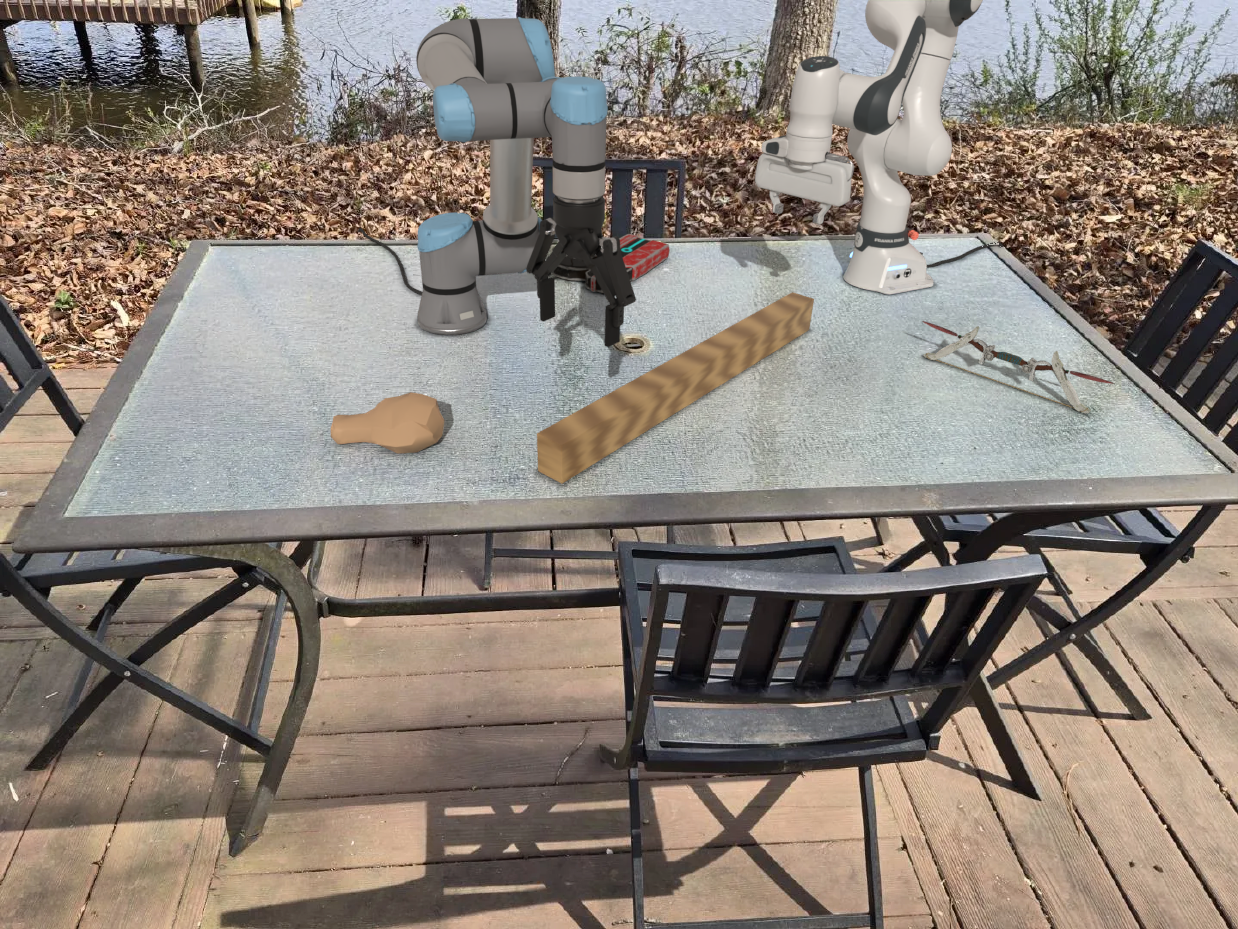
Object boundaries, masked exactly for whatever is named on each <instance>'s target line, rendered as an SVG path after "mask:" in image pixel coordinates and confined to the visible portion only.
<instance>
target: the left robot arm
mask: <svg viewBox="0 0 1238 929" xmlns="http://www.w3.org/2000/svg"><path fill="white" fill-rule="evenodd" d="M415 62H416V69H417V71H418V73H419V76H420V78H421V80H422V81H423V83H424V84H425V86H427V87H428V88H429V89H430V90H431V91H433V93H432V107H433V116H434V124H435V129H436V133H437V136H438V138H439V139H440V140H442V141H444V142H460V143H468V142H477V141H478V142H479V141H480V142H481V141H489V205H487V206H486V207H485V209H484V210H483V213H482V219H481V220H473V218H472V217H471V216H470V215H469V214H468V213H465V212H457V211H456V212H446V213H445V212H444V213H440V214H437V215H434V216H431V217H429V218H427V219H426V220H423V222H421V224H419V226H418V229H417V247H416V248H417V251H418V252H419V253H418V255H419V263H420V275H421V284H422V291H421V290H419V289H416V288H415V287H413V286H411V285H410V284H409V282H408V279H407V276H406V273H405V270H404V267H403V264H402V261H401V260H400V258H399V256H398V255H397V253H396V252H395V251H394V250H393V249H392V248H391V247H389V246H388V245H386V244H385V243H384V242H382V241H380V240H378V239H375V238H374V237H372V236H370V235H369V234H367V232H365V230H364V229H363V228H362V227H359V228H358V230H357V233H361V234H362V235H363V237H365V238H366V239H367V240H369V241H370V242H373V243H375V244H377V245H379V246H381V247H383V248H384V249H385V250H387V251H388V252H389V253H390V254H391V255H392V256H393V257H394V259H395V261H396V263H397V265H398V267H399V271H400V274H401V277H402V281H403V283H404V286H405V287H406V289H408V290H410V291H411V292H413V293H415V294H418V295H420V296H421V297H420V302H419V305H418V310H417V317H416V318H417V325H418V326H419V328H420V329H421V330H423V331H424V332H427V333H430V334H433V335H440V336H459V335H465V334H469V333H473V332H476V331H477V330H480V329H481V328H483V327H484V326H485V325H486V323H487V320H488V316H487V310H486V306H485V304H484V302H483V299H482V298H481V295H480V293H479V291H478V288H477V278H476V277H483V276H484V277H485V276H495V275H497V276H498V275H509V274H510V275H511V274H524V273H527V274H529V275H530V274H532V275H533V276H534V279H535V280H536V295H537V298H538V299H539V321H540V322H542V323H543V322H546V321H548V320H552V319H554V318H556V284H555V283H556V282H555V281H556V279H555V278H554V277H551V276H554V275H553V274H552V273H553V271H554V270H555V269H556V268H557V266H558V265H559V264H560V263H561V262H562V260H563V259H564V258H565V257H566V255H567V257H569V258H575V259H577V260H578V261H581V262H584V263H585V264H586V266H587V267H588V268H590V269H591V270H592V272H593V274H594V276H595V278H596V280H597V282H598V284H599V285H600V287H601V289H602V291H603V293H602V294H604V297H605V298H606V300H607V302H608V304H607V305H605V307H604V346H605V347H606V348H610V347H613V346H614V345H616V344H618V343H620V342H621V326H623V325H624V323H625V321H624V320H625V319H624V318H625V317H624V315H625V307H627V306H630V305H632V304H634V303H635V302H636V301H637V299H636V298H637V297H636V295H635V292H634V288H633V285H632V282H631V281H630V279H629V276H628V273H627V270H626V267H625V264H624V261H623V258H622V255H621V249H620V239H619V238H620V237H619V236H617V235H615V236H612V237H606V236H604V234H603V231H602V230H603V229H602V228H603V225H604V223H605V220H606V199H605V197H604V195H605V194H606V160H607V159H606V158H607V116H608V112H609V105H608V104H607V102H608V101H607V87H606V85H605V83H604V82H603V81H602V80H601V79H598V78H593V77H589V76H564V77H560V76H556V72H555V71H556V70H555V61H554V53H553V48H552V43H551V39H550V36H549V32H548V29H547V27H546V25H545V24H544V23H543V21H542V20H539V19H538V18H526V17H525V18H524V17H520V16H517V17H503V18H500V17H499V18H456V19H452V20H449V21H446V22H445V21H444V22H443V23H441V24H439V25H438V26H436V27H434V28H433V29H432V30H430V31H429V32H428V33H426V35H425V36H424V37H423V38H422V40H421V41H420V43H419V46H418V48H417V51H416V57H415ZM540 138H543V139H544V138H551V146H552V148H551V149H552V150H551V152H552V193H553V194H554V196H553V198H552V212H553V213H552V216H551V217H548V218H545V219H542V218H541V217H539V216H538V214H537V211H536V210H535V209H534V208H533V207H532V200H533V199H532V196H533V195H532V194H533V193H532V192H533V170H534V148H535V147H534V146H535V139H540ZM555 238H557V240H558V242H556V244H555V245H554V246H553V248H552V245H553V242H554V240H555ZM379 241H380V242H379ZM551 248H552V249H551ZM550 250H551V253H550V254H549V252H550ZM548 254H549V255H548ZM595 255H596V256H597V258H595V259H592V258H593V257H594V256H595Z"/></svg>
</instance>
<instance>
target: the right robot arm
mask: <svg viewBox="0 0 1238 929" xmlns="http://www.w3.org/2000/svg"><path fill="white" fill-rule="evenodd" d="M983 1H984V0H867V3H866V5H865V9H864V11H865V12H864V18H865V23H866V26H867V28H868V30H869V33H870V34H871V35H872V36H873V38H874V39H876V41H878V42H879V43H880V44H881V45H884V46H886V47H888V48H890V49H891V50H893V54H892V57H891V59H890V61H889V64H888V65H887V69H886V71H885V73H884V74H881V75H878V76H867V75H862V74H856V73H851V72H845V71H844V70H842V69H841V66H840V62H839V60H838V59H837V58H835V57H832V56H828V55H817V56H810V57H807V58H804V59H803V60H801V61H800V62H799V64H798V67H797V69H796V73H795V75H794V80H793V84H792V88H791V95H790V100H789V117H790V118H789V122H788V125H787V127H786V132H785V135H781V136H777V137H773V138H770V139H768V140H764V141H763V142H762V143H761V152H762V154H760V156H759V157H758V160H757V163H756V168H755V175H754V176H755V177H754V182H755V185H756V186H757V188H760V189H764V190H768V191H769V198H770V200H771V203H772V213H774V214H778V215H780V214H782V213H783V212H784V205H785V204H784V203H782V202H781V200H780V196H779V195H781V194H785V195H788V196H793V197H796V198H801V199H804V200H805V199H806V200H809V201H814V202H816V203H817V202H818V203H820V204H819V208H820V209H821V210H820V211H819V212H816V213H815V214H813V217H812V223H813V224H816V225H821V224H823V223H824V219H825V216H826V214H827V212H829V210H830V209H831V208H832V206H834V207H842V206H843V205H845V204H847V203H848V202H849V201H850V199H851V193H852V178H853V175H854V170H855V165H854V163H853V161H852V160H851V159H850V158H849V157H848V156H846V155H839V154H836V153H832V152H831V146H832V139H833V135H834V134H833V133H834V131H833V130H834V129H833V125H834V126H837V127H842V128H847V129H849V131H848V133H847V138H846V139H847V140H846V142H847V149H848V152H849V154H850V155H851V156H852V158H853V159H854V160H855V162H856V164H857V166H858V169H859V172H860V176H861V180H862V186H863V187H862V188H863V198H862V206H861V213H860V219H859V222H858V223H857V226H856V231H855V235H854V243H853V250H852V252H851V253H850V254H849V258H850V259H849V263H848V265H847V267H846V270H845V272H844V274H843V276H842V278H843V280H844V281H845V282H846V283H847V284H849V285H851V286H853V287H855V288H859V289H862V290H866V291H872V292H878V293H879V294H884V295H895V294H900V293H906V292H911V291H916V290H917V291H918V290H922V289H927V288H932V287H934V279H933V278H932V276H931V275H929V274H928V272H927V269H928V268H934V267H937V266H940V265H945V264H948V263H952V262H956V261H958V260H959V261H960V260H962V259H964V258H965V257H967V256H969V255H971V254H973V253H975V252H978V251H980V250H983V249H987V248H990V247H991V248H992V247H993V246H995V245H989V243H990V244H993V242H994V243H995V242H997V243H999V245H997V246H998V247H999V246H1001V247H1003V248H1004V245H1003V243H1001V242H999V241H993V242H989V243H987V245H988V246H987V245H986V244H983V245H979V246H977V247H974V248H972V249H970V250H968V251H966V252H964V253H962V254H961V255H958V256H954V257H951V258H947V259H943V260H939V261H937V262H934V263H929V264H928V263H927V260H926V257H925V256H924V253H923V252H921V251H919V250H918V249H917V248H916V247H915V246H914V245H912V243H911V242H910V239H911V240H912V241H917V239H919V237H920V234H919V232H918V231H916V230H915V229H910V228H909V227H907V222H908V219H909V218H908V217H909V214H910V208H911V203H912V197H911V193H910V191H909V190H908V189H907V187H906V186H905V185H904V183H902V181H901V179H900V175H899V172H901V173H904V174H908V175H912V176H920V177H928V176H929V177H931V176H932V177H933V176H937V175H938V174H939V173H940V172H942V171H943V170H944V169H945V168H946V166H947V165H948V163H949V161H950V160H951V157H952V152H953V143H952V138H951V137H950V135H949V133H948V132H947V130H946V128H945V127H944V124H943V121H942V116H941V115H942V114H941V98H942V92H943V88H944V84H945V81H946V78H947V74H948V70H949V67H950V64H951V61H952V57H953V54H954V51H955V48H956V43H957V38H958V33H959V28H960V26H961V25H962V24H963V23H964V22H965V21H967V20H969V19H970V18H971V17H973V16H974V15H975V14H976V13H977V11H978V10H979V9H980V7H981V6H982V3H983ZM901 108H903V116H902V119H901V118H899V115H900V112H901ZM995 244H996V243H995ZM982 246H983V247H982ZM1001 247H1000V248H1001Z"/></svg>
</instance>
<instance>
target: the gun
mask: <svg viewBox="0 0 1238 929" xmlns="http://www.w3.org/2000/svg"><path fill="white" fill-rule="evenodd" d="M619 239H620V249H621V255H622V258H623V261H624V264H625V267H626V270H627V273H628V276H629V279H630V282H631V281H635V280H637V279H639V278H641V277H643V275H645V274H647V273H648V272H650V271H651V270H653V269H654V268H655V267H657V266H658V265H659V264H661V263H662V262H664V261H665V260H667V259H668V258H669V255H670V250H671V249H670V244H669V243H666V242H662V241H659V240H655V239H653V240H650V239H647V238H642V237H639V235H638V234H633V233H627V234H625V235H623V236H621V237H619ZM595 258H597V256H596V255H595V256H594V257H593V258H592V259H595ZM552 274H553V275H552V276H555V277H557V278H559V279H563V280H565V281H566V280H567V281H576V282H577V281H579V282H580V281H581V282H584V281H585V287H586V290H590V292H592V293H595V292H598V293H601V294H604V293H603V291H602V289H601V287H600V285H599V284H598V282H597V280H596V278H595V276H594V274H593V272H592V270H591V269H590V268H588V267H587V266H586V264H585V263H584V262H581V261H578V260H577V259H575V258H569V257H567V255H566V257H565V258H564V259H563V260H562V262H561V263H560V264H559V265H558V266H557V268H556V269H555V270H554V271H553V273H552Z"/></svg>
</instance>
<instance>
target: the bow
mask: <svg viewBox="0 0 1238 929" xmlns="http://www.w3.org/2000/svg"><path fill="white" fill-rule="evenodd" d="M921 322H922V323H924V324H925V325H927V326H929V327H931V328H933V329H935V330H938V331H940V332H942V333H944V334H947V335H949V336H950V335H951V336H953V337H957V339H958V340H957V341H956V342H952V343H950V344H948V345H946V346H944V347H942V348H941V349H939V350H938V351H937V352H925V353H924V354H923V357H924V358H926V360H929V361H937V362H939V363H943V364H945V365H948V366H951V367H954V368H957V369H959V370H962V371H966V372H968V373H971V374H974V375H977V376H980V377H983V378H985V379H987V380H988V379H989V380H991V381H994V382H997V383H1000V384H1003V385H1005V386H1008V387H1012V388H1015V389H1017V390H1020V391H1023V392H1026V393H1028V394H1031V395H1033V396H1037V397H1040V398H1043V399H1046V400H1048V401H1052V402H1055V403H1057V404H1060V405H1063V406H1066V407H1069V408H1072V409H1074V410H1075V411H1077V412H1079V413H1082V414H1090V412H1091V411H1092V409H1090V408H1089V407H1087V406H1085V404H1083V403H1082V402H1080V399H1079V396H1078V393H1077V391H1076V389H1075V386H1074V385H1073V384H1072V382H1071V381H1070V380H1069V378H1068V377H1067V374H1070V375H1073V376H1075V377H1079V378H1082V379H1084V380H1089V381H1094V382H1097V383H1103V384H1109V385H1113V384H1114V382H1113V381H1110V380H1107V379H1103V378H1102V377H1098V376H1094V375H1091V374H1089V373H1088V374H1087V373H1084V372H1081V371H1080V372H1079V371H1075V370H1069V369H1065V367H1064V366H1065V365H1064V363H1063V361H1062V360H1061V359H1060V355H1059V351H1058V350H1055V351H1054V352H1053V353H1052V357H1051V360H1050V361H1051V362H1049V361H1047V360H1037V359H1035V358H1034V357H1031V358H1030V359H1029V360H1024V358H1022V357H1021V356H1019V355H1015V354H1012V353H1010V352H1008V351H996V350H995V349H996V345H995V344H993V345H991V344H990V345H988V344H987V343H986V342H985V341H984V340H982V339H979V338H976V336H978V333H979V329H980V326H978V325H977V326H976V327H974V328H973V329H972V330H971V331H969V332H966V333H965V334H963V335H962V334H958V333H957V332H955V331H952V330H950V329H948V328H946V327H943V326H940V325H937V324H936V323H935V324H934V323H931V322H928V321H925V320H922V321H921ZM975 338H976V339H975ZM969 345H972V346H973V347H974V348H975V349H976V350H978V351H979V352H981V353H982V354H981V357H979V360H978V362H977V364H980V365H983V364H984V363H985V361H988V362H992V361H993V360H994V359H995V358H996V359H998V360H1001V361H1005V362H1007V363H1010V364H1013V365H1016V366H1019V367H1020V366H1021V372H1023V373H1024V374H1029V375H1028V381H1030V382H1034V381H1035V380H1036V372H1037V371H1038V372H1039V371H1041V372H1042V371H1043V372H1044V371H1051V372H1052V373H1053V374H1054V376H1055V377H1056V379H1057V381H1058V382H1059V384H1060V387H1061V389H1062V391H1063V393H1064V394H1065V397H1066V399H1067V401H1068V402H1069V404H1070V405H1069V404H1065V403H1063V402H1061V401H1057V400H1054V399H1051V398H1048V397H1046V396H1043V395H1040V394H1037V393H1034V392H1031V391H1028V390H1025V389H1023V388H1020V387H1016V386H1014V385H1012V384H1008V383H1005V382H1003V381H999V380H996V379H995V378H991V377H988V376H985V375H982V374H979V373H976V372H974V371H971V370H968V369H965V368H962V367H959V366H957V365H954V364H951V363H948V362H945V361H942V360H940V359H942V358H946V357H948V356H949V355H951V354H953V353H954V352H957V351H958V350H959V349H962V348H964V347H966V346H969Z"/></svg>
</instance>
